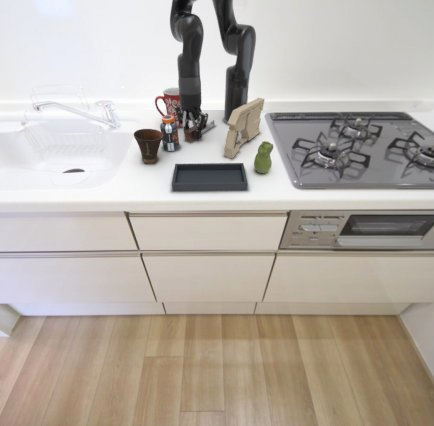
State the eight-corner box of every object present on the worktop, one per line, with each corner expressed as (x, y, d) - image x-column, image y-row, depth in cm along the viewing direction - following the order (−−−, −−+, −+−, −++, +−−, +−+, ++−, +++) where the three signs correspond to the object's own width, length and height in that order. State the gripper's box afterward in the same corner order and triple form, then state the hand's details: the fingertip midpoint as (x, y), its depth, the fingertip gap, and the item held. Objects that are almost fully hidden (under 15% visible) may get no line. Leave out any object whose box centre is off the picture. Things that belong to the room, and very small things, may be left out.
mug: (187, 119, 105) (185, 86, 96) (188, 128, 99) (186, 94, 89) (158, 121, 104) (153, 88, 95) (158, 130, 98) (152, 95, 88)
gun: (230, 160, 80) (236, 115, 71) (222, 158, 82) (226, 113, 72) (258, 138, 97) (265, 98, 87) (251, 136, 98) (257, 96, 88)
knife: (211, 125, 101) (211, 116, 98) (216, 126, 100) (216, 117, 97) (185, 140, 91) (184, 130, 88) (190, 142, 90) (189, 132, 87)
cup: (171, 160, 81) (168, 132, 74) (149, 170, 77) (143, 142, 70) (157, 150, 86) (152, 123, 79) (135, 160, 81) (128, 132, 74)
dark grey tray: (172, 191, 69) (171, 184, 67) (176, 170, 77) (175, 163, 75) (246, 190, 69) (247, 183, 67) (242, 169, 77) (243, 162, 75)
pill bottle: (176, 152, 85) (173, 121, 77) (161, 150, 86) (156, 120, 78) (181, 144, 89) (178, 114, 81) (166, 143, 90) (162, 112, 82)
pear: (258, 164, 79) (263, 136, 72) (273, 170, 76) (279, 141, 69) (249, 172, 76) (253, 143, 69) (264, 178, 73) (269, 149, 66)
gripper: (213, 91, 79) (213, 138, 91) (181, 83, 85) (185, 129, 97) (199, 97, 75) (201, 146, 86) (166, 89, 81) (172, 135, 93)
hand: (192, 137), depth 92 cm, fingers open, 5 cm apart
